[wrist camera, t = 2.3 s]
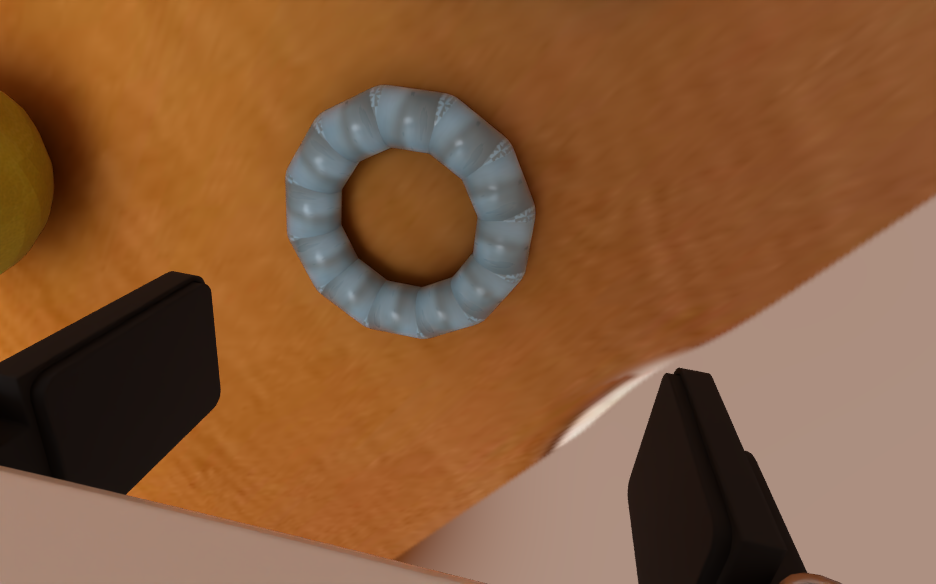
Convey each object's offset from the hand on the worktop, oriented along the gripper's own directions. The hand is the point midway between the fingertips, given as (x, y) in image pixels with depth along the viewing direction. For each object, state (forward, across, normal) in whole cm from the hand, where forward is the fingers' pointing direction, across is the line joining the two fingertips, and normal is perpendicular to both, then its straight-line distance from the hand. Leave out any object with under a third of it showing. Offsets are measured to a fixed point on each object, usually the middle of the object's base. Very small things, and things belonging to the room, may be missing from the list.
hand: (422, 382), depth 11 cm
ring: (+9, +3, 0) cm, 10 cm away
